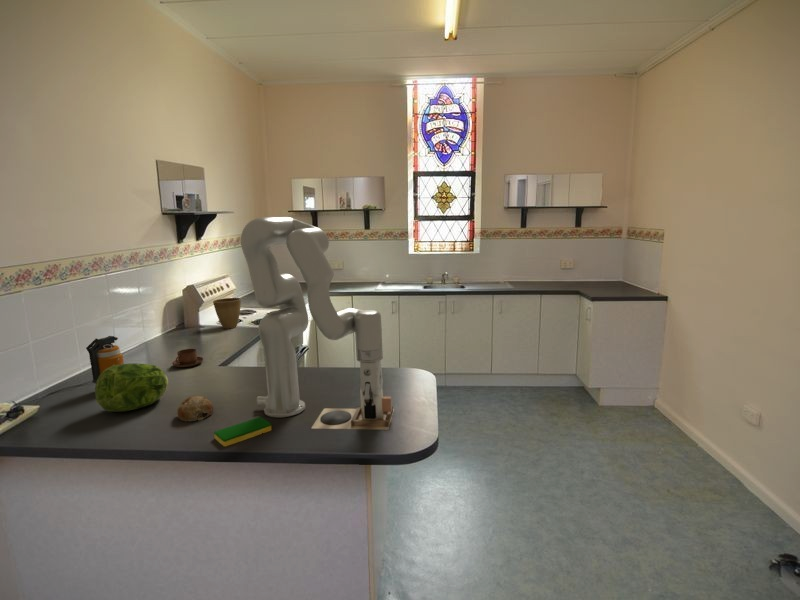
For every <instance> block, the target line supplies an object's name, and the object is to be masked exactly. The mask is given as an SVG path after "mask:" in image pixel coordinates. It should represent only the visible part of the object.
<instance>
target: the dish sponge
mask: <svg viewBox="0 0 800 600" xmlns="http://www.w3.org/2000/svg"><path fill="white" fill-rule="evenodd" d="M272 430H273V429H272V423H270V422H269V421H268V420H266V419H265V418H263V417H262V416H259V417H256V418H252V419H250V420H246V421H243V422H241V423H237V424H235V425H231V426H227V427H224V428H222V429H218V430H215V431H214V432H213V433H214V439H215V440H216V441H217V442H218V443H219V444H220V445H222V447H228V446H231V445H234V444H237V443H239V442H243V441H245V440H248V439H251V438H254V437H256V436H259V435H262V433H263V434H266V433H268V432H271V431H272Z"/></svg>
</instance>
